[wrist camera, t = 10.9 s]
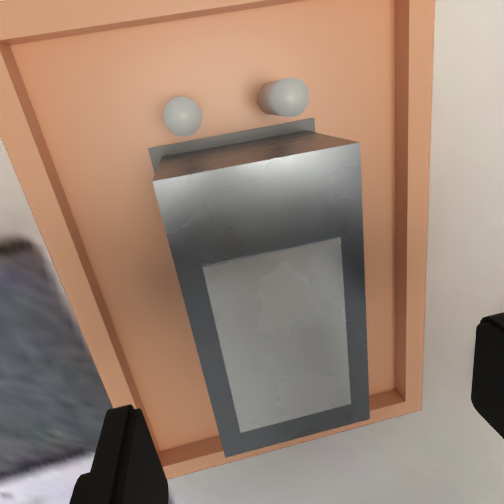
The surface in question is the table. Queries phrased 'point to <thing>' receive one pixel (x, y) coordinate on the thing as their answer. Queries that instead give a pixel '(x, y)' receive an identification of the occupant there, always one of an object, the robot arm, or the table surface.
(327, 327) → the block
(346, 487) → the table surface
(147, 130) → the drive tray
